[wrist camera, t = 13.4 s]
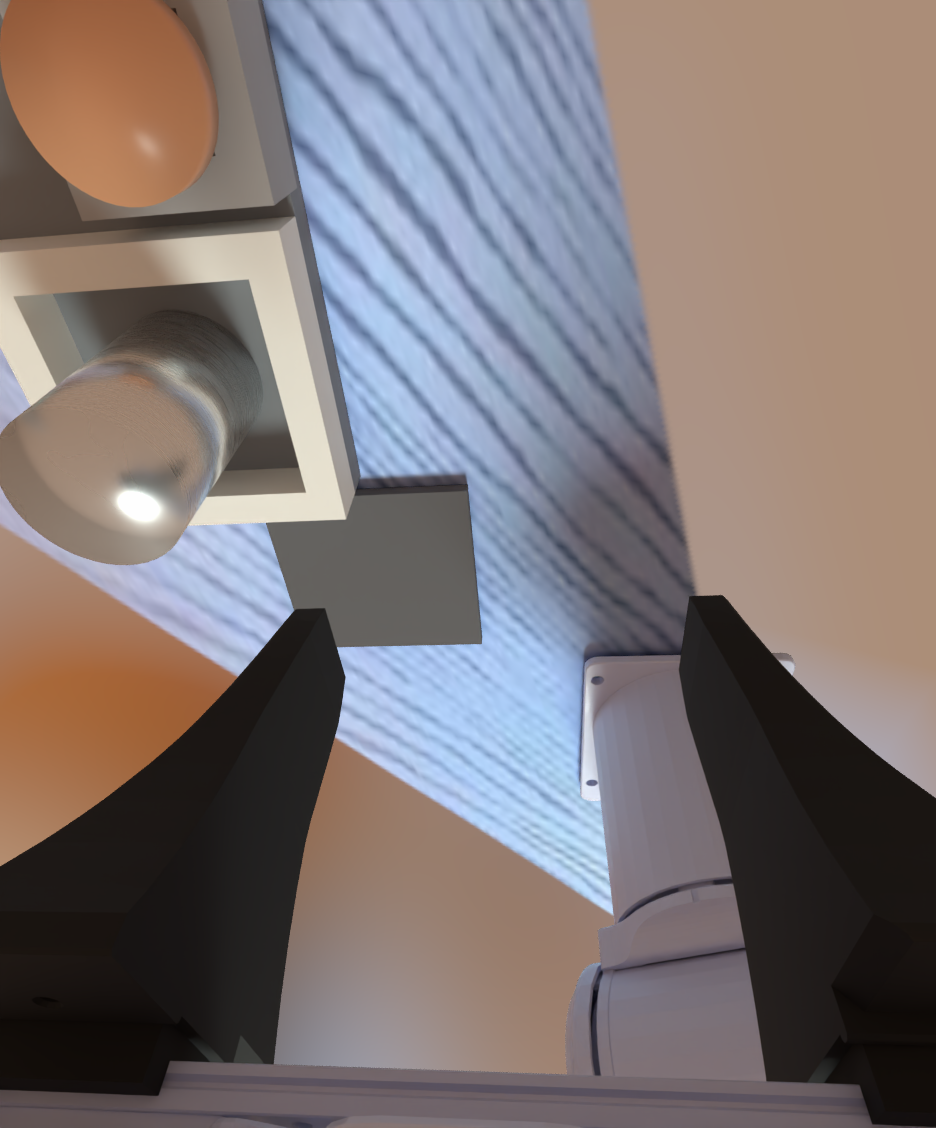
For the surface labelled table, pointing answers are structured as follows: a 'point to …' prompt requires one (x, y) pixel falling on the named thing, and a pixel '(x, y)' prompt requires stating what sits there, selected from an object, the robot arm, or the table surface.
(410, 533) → the mat
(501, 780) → the table surface
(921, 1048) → the robot arm
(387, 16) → the table surface
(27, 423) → the billet
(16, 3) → the button
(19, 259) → the station
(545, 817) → the table surface
